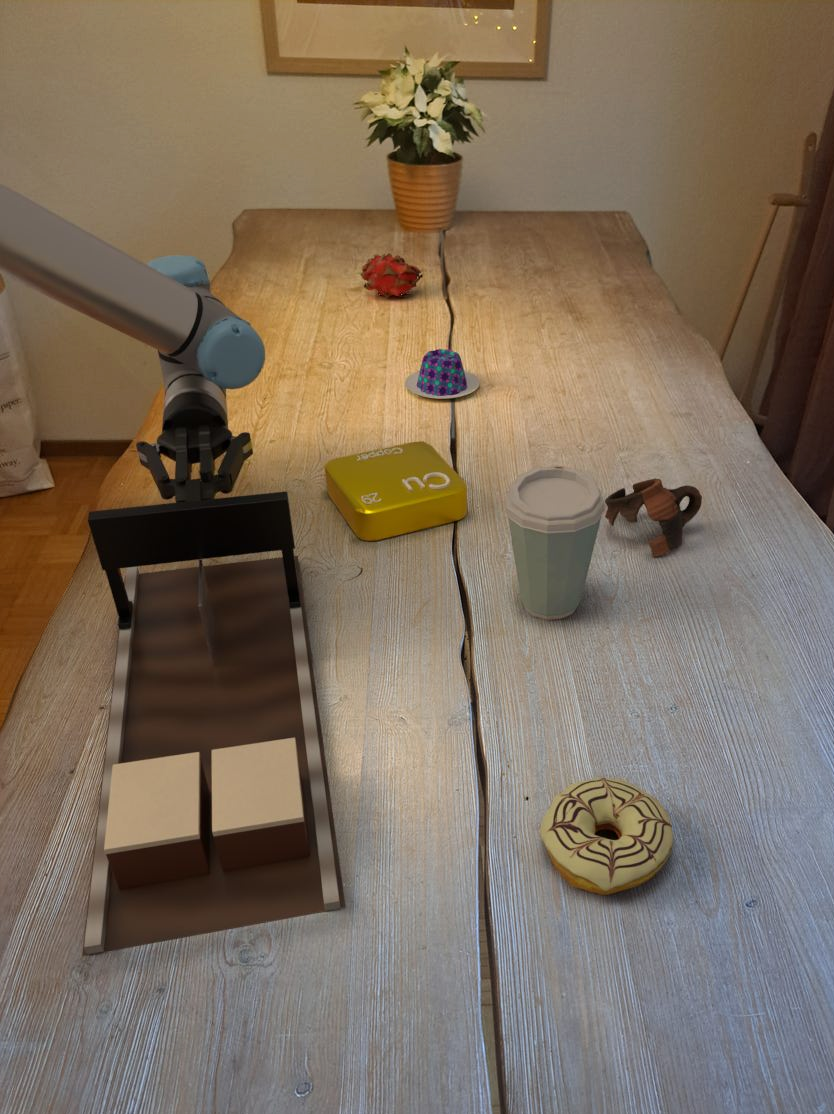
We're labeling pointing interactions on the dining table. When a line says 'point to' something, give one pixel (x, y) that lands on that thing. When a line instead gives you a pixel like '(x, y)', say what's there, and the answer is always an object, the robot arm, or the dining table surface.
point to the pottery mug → (656, 510)
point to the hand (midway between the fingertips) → (195, 521)
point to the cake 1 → (158, 820)
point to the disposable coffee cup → (553, 536)
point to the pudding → (442, 376)
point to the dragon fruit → (390, 275)
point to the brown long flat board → (214, 744)
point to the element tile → (395, 490)
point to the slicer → (193, 542)
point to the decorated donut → (599, 858)
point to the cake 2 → (258, 804)
